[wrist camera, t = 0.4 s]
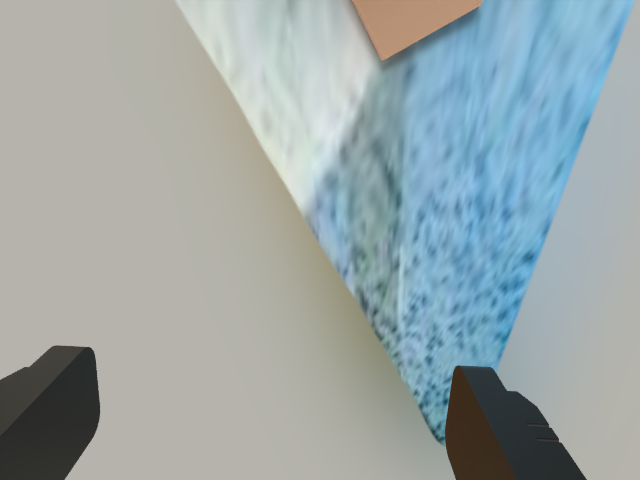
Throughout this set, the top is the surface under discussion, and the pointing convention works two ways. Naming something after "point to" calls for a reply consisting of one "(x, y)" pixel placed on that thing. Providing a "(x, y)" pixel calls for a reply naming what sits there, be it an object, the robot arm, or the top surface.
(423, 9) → the tile
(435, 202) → the top surface
